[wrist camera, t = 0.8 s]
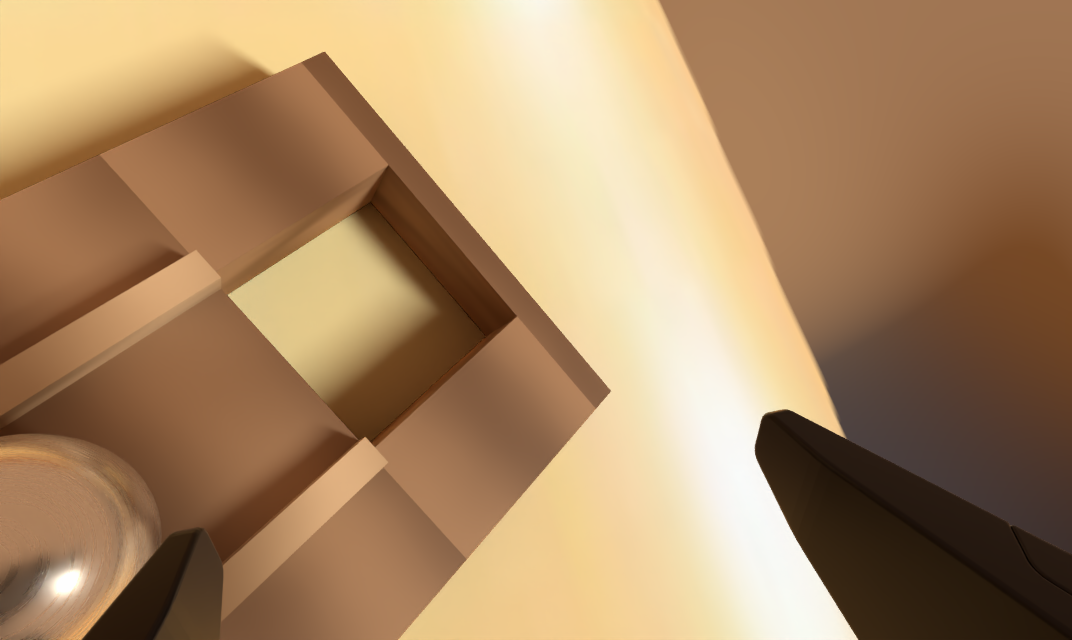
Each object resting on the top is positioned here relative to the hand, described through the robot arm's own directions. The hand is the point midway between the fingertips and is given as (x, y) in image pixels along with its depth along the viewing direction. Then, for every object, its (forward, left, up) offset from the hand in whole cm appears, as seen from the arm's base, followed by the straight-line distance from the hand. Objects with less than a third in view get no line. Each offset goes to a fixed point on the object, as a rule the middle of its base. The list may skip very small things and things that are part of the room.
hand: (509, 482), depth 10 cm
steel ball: (-6, +5, -7) cm, 11 cm away
